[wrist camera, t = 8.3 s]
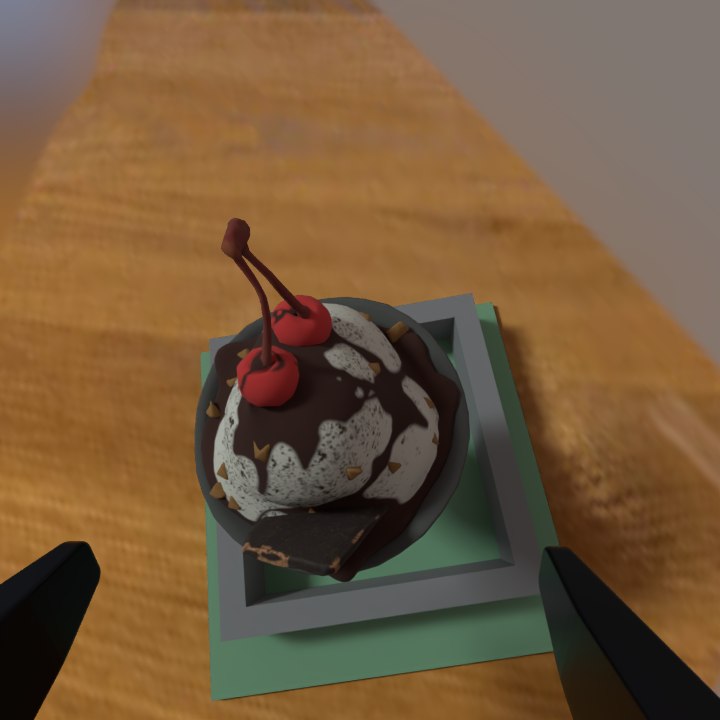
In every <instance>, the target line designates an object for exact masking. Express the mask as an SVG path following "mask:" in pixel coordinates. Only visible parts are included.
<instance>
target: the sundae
mask: <svg viewBox="0 0 720 720" xmlns="http://www.w3.org/2000/svg"><path fill="white" fill-rule="evenodd" d="M249 237H250V227H249V226H248V224H247V223H246V222H245V221H244V220H241V219H238V218H233V219H232V220H230V221H229V223H228V226H227V230H226V233H225V236H224V239H223V242H222V245H221V249H222V251H223V252H224V254H226V255H228V256H229V257H231V258H232V259H233V260H234V261H235V263H236V264H237V265H238V266H239V268H240V269H241V270H242V271H243V273H244V274H245V275H246V277H247V278H248V280H249V281H250V282H251V284H252V285H253V286H254V288H255V290H256V292H257V294H258V296H259V299H260V303H261V309H262V315H263V317H261V318H260V319H258V320H256V321H254V322H253V323H251V324H249V325H247V326H246V327H245V328H244V329H243V330H242V331H241V332H240V333H239V334H237V335H236V336H235V337H234V338H233V339H232V340H231V341H230V342H229V343H228V344H226V345H224V346H222V347H221V348H220V349H219V350H218V351H217V353H216V355H215V358H214V363H213V364H212V367H211V369H210V371H209V374H208V376H207V379H206V381H205V383H204V386H203V389H202V392H201V396H200V400H199V403H198V407H197V413H196V424H195V461H196V473H197V476H198V480H199V483H200V486H201V490H202V493H203V495H204V498H205V500H206V502H207V504H208V506H209V508H210V511H211V513H212V515H213V517H214V519H215V520H216V521H217V522H218V523H219V524H220V525H221V526H222V527H223V529H224V530H225V531H226V532H227V533H228V534H229V535H230V536H231V538H232V539H234V540H235V541H236V542H237V543H239V544H240V545H241V546H242V549H241V551H242V552H244V553H245V554H247V555H249V556H251V557H254V558H256V559H258V560H261V561H263V562H266V563H269V564H272V565H276V566H278V567H281V568H284V569H287V570H291V571H295V572H298V573H302V574H306V575H319V576H330V577H332V578H333V579H335V580H337V581H340V582H349V581H350V580H352V579H353V578H354V577H355V575H356V574H357V573H358V572H360V571H363V570H367V569H370V568H373V567H377V566H379V565H381V564H383V563H384V562H386V561H388V560H390V559H391V558H393V557H395V556H397V555H398V554H400V553H401V552H403V551H404V550H405V549H407V548H408V547H409V546H411V545H412V544H413V543H415V542H416V541H417V540H419V539H420V538H421V537H423V536H424V535H425V534H426V533H427V531H428V530H429V529H430V527H431V526H432V525H433V524H434V522H435V521H436V520H437V519H438V517H439V516H440V515H441V514H442V512H443V511H444V509H445V508H446V506H447V504H448V503H449V501H450V499H451V498H452V496H453V494H454V493H455V491H456V489H457V488H458V486H459V483H460V479H461V476H462V472H463V469H464V465H465V462H466V459H467V453H468V446H469V440H470V424H469V412H468V407H467V402H466V398H465V393H464V390H463V387H462V384H461V382H460V379H459V376H458V373H457V371H456V369H455V368H454V366H453V364H452V363H451V361H450V359H449V358H448V356H447V354H446V353H445V351H444V350H443V349H442V347H441V346H440V345H439V343H438V342H437V341H436V340H435V338H434V337H433V336H432V334H431V333H430V332H429V331H428V330H427V329H425V328H424V327H423V326H421V325H420V324H419V323H417V322H416V321H415V320H414V319H412V318H411V317H410V316H408V315H406V314H404V313H403V312H401V311H399V310H397V309H395V308H393V307H392V306H390V305H388V304H384V303H380V302H376V301H371V300H367V299H360V298H351V297H339V298H327V299H320V300H317V299H315V298H313V297H311V296H304V295H296V296H293V295H292V294H291V293H290V292H289V290H288V289H287V288H286V287H285V286H284V285H283V284H282V283H281V282H280V281H279V280H278V279H277V278H276V277H275V275H274V274H273V273H272V272H271V271H270V270H269V269H268V268H267V267H266V266H264V265H263V264H262V263H261V262H260V261H259V260H258V259H257V258H256V257H255V256H254V255H253V254H252V253H251V252H250V251H249V248H248V245H247V241H248V239H249ZM242 255H243V256H244V257H245V258H246V259H247V260H248V261H249V262H250V263H251V264H252V265H253V266H255V267H256V268H257V269H258V270H259V271H260V272H261V273H262V274H263V275H264V276H265V277H266V279H267V280H268V281H269V282H270V283H271V285H272V286H273V287H274V288H275V290H276V291H277V292H278V293H279V294H280V296H281V297H282V298H283V299H284V301H282V302H281V303H279V304H278V305H277V307H276V308H275V309H274V311H273V312H271V313H270V310H269V305H268V301H267V297H266V295H265V293H264V291H263V289H262V287H261V286H260V284H259V282H258V280H257V279H256V277H255V275H254V274H253V272H252V271H251V269H250V268H249V266H248V265H247V263H246V262H245V261H244V259H243V258H242Z"/></svg>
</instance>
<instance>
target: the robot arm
mask: <svg viewBox="0 0 720 720" xmlns="http://www.w3.org/2000/svg"><path fill="white" fill-rule="evenodd" d="M100 573H101V572H100V567H99V564H98V562H97V560H96V558H95V556H94V554H93V551H92V549H91V547H90V545H89V544H88V543H87V542H84V541H68V542H64V543H62V544H60V545H59V546H57V547H56V548H54V549H53V550H51V551H50V552H48V553H47V554H45V555H44V556H42V557H41V558H39V559H38V560H36V561H35V562H33V563H32V564H30V565H29V566H27V567H26V568H24V569H23V570H21V571H20V572H18V573H17V574H15V575H14V576H12V577H11V578H9V579H8V580H6V581H5V582H3V583H2V584H0V720H34V719H35V717H36V715H37V713H38V711H39V709H40V707H41V706H42V704H43V702H44V700H45V698H46V696H47V694H48V692H49V690H50V688H51V687H52V685H53V683H54V681H55V679H56V677H57V675H58V673H59V671H60V669H61V667H62V665H63V663H64V661H65V659H66V657H67V655H68V652H69V650H70V648H71V646H72V643H73V641H74V639H75V636H76V634H77V632H78V629H79V627H80V625H81V622H82V620H83V618H84V615H85V613H86V611H87V608H88V606H89V604H90V601H91V599H92V597H93V594H94V592H95V589H96V587H97V585H98V582H99V579H100ZM538 581H539V589H540V594H541V598H542V602H543V607H544V611H545V616H546V620H547V624H548V629H549V633H550V638H551V642H552V646H553V651H554V655H555V659H556V664H557V668H558V672H559V676H560V680H561V683H562V686H563V690H564V693H565V696H566V699H567V702H568V705H569V708H570V711H571V714H572V717H573V720H720V698H719V697H718V696H717V695H716V694H715V693H714V692H713V691H712V690H711V689H710V688H709V687H708V686H707V685H706V684H705V683H704V682H703V681H702V680H701V679H700V678H699V677H698V676H697V675H696V674H695V673H694V672H693V671H692V670H691V669H690V668H689V667H688V666H687V665H686V664H685V663H684V662H683V661H682V660H681V659H680V658H679V657H678V656H677V655H676V654H675V653H674V652H673V651H672V650H671V649H670V648H669V647H668V646H667V645H666V644H665V643H664V642H663V641H662V640H661V639H660V638H659V637H658V636H657V635H656V634H655V633H654V632H653V631H652V630H651V629H650V628H649V627H648V626H647V625H646V624H645V623H644V622H643V621H642V620H641V619H640V618H639V617H638V616H637V615H636V614H635V613H634V612H633V611H632V610H631V609H630V608H629V607H628V606H627V605H626V604H625V603H624V602H623V601H622V600H621V599H620V598H619V597H618V596H617V595H616V594H615V593H614V592H613V591H612V590H611V589H610V588H609V587H608V586H607V585H606V584H605V583H604V582H603V581H602V580H601V579H600V578H599V577H598V576H597V575H596V574H595V573H594V572H593V571H592V570H591V569H590V568H589V567H588V566H587V565H586V564H585V563H584V562H583V561H582V560H581V559H580V558H579V557H578V556H577V555H576V554H575V553H574V552H573V551H572V550H571V549H569V548H568V547H564V546H547V547H545V548H544V549H543V553H542V558H541V564H540V570H539V576H538Z"/></svg>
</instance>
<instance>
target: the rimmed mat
mask: <svg viewBox="0 0 720 720" xmlns="http://www.w3.org/2000/svg"><path fill="white" fill-rule="evenodd" d="M393 308H395V309H397V310H399V311H401V312H403V313H404V314H406V315H408V316H410V317H411V318H412V319H414V320H415V321H416V322H417V323H419V324H420V325H421V326H423V327H424V328H425V329H427V330H428V331H429V332H430V333H431V334H432V336H433V337H434V338H435V340H436V341H437V342H438V343H439V345H440V346H441V347H442V349H443V350H444V351H445V353H446V354H447V356H448V358H449V359H450V361H451V363H452V364H453V366H454V368H455V369H456V371H457V373H458V376H459V379H460V382H461V384H462V387H463V390H464V393H465V398H466V402H467V407H468V412H469V424H470V440H469V446H468V453H467V459H466V462H465V465H464V469H463V472H462V476H461V479H460V483H459V486H458V488H457V489H456V491H455V493H454V494H453V496H452V498H451V499H450V501H449V503H448V504H447V506H446V508H445V509H444V511H443V512H442V514H441V515H440V516H439V517H438V519H437V520H436V521H435V522H434V524H433V525H432V526H431V527H430V529H429V530H428V531H427V533H426V534H425V535H424V536H423V537H421V538H420V539H419V540H417V541H416V542H415V543H413V544H412V545H411V546H409V547H408V548H407V549H405V550H404V551H403V552H401V553H400V554H398V555H397V556H395V557H393V558H391V559H390V560H388V561H386V562H384V563H383V564H381V565H379V566H377V567H373V568H370V569H367V570H363V571H360V572H358V573H357V574H356V575H355V577H354V578H353V579H352V580H350V581H349V582H340V581H337V580H335V579H333V578H332V577H330V576H319V575H306V574H302V573H298V572H295V571H291V570H287V569H284V568H281V567H278V566H276V565H272V564H269V563H266V562H263V561H261V560H258V559H256V558H254V557H251V556H249V555H247V554H245V553H244V552H242V551H241V549H242V546H241V545H240V544H239V543H237V542H236V541H235V540H234V539H232V538H231V536H230V535H229V534H228V533H227V532H226V531H225V530H224V529H223V527H222V526H221V525H220V524H219V523H218V522H217V521H216V520H215V519H214V517H213V515H212V513H211V511H210V508H209V506H208V504H207V502H206V500H205V510H206V543H207V575H208V608H209V640H210V673H211V701H214V700H221V699H228V698H235V697H242V696H248V695H255V694H262V693H269V692H276V691H283V690H290V689H297V688H303V687H310V686H317V685H324V684H331V683H338V682H345V681H352V680H358V679H365V678H372V677H379V676H386V675H393V674H400V673H407V672H413V671H420V670H427V669H434V668H441V667H448V666H455V665H461V664H468V663H475V662H482V661H489V660H496V659H503V658H510V657H516V656H523V655H530V654H537V653H544V652H551V651H553V646H552V642H551V638H550V633H549V629H548V624H547V620H546V616H545V611H544V607H543V602H542V598H541V594H540V589H539V581H538V576H539V570H540V564H541V558H542V553H543V549H544V548H545V547H547V546H560V545H559V541H558V538H557V534H556V530H555V527H554V523H553V520H552V516H551V512H550V509H549V505H548V502H547V498H546V495H545V491H544V487H543V484H542V480H541V477H540V473H539V469H538V466H537V462H536V459H535V455H534V452H533V448H532V444H531V441H530V437H529V434H528V430H527V426H526V423H525V419H524V416H523V412H522V409H521V405H520V401H519V398H518V394H517V391H516V387H515V383H514V380H513V376H512V373H511V369H510V366H509V362H508V358H507V355H506V351H505V348H504V344H503V340H502V337H501V333H500V330H499V326H498V323H497V319H496V315H495V312H494V308H493V305H492V302H489V303H484V304H478V305H475V303H474V299H473V295H472V293H469V294H463V295H458V296H452V297H446V298H441V299H435V300H429V301H424V302H418V303H412V304H407V305H401V306H395V307H393ZM236 335H237V334H236ZM236 335H231V336H225V337H219V338H214V339H209V347H210V352H204V353H201V380H202V389H203V386H204V383H205V381H206V379H207V376H208V374H209V371H210V369H211V367H212V364H213V363H214V358H215V355H216V353H217V351H218V350H219V349H220V348H221V347H222V346H224V345H226V344H228V343H229V342H230V341H231V340H232V339H233V338H234V337H235V336H236Z"/></svg>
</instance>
